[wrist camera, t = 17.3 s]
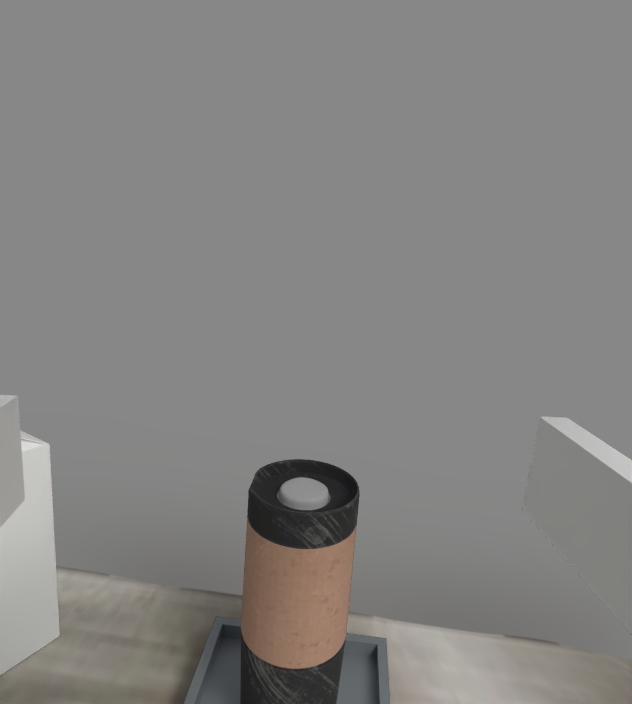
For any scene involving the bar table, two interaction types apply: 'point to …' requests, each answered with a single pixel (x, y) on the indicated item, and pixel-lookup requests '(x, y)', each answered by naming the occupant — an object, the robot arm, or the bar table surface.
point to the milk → (29, 563)
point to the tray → (225, 668)
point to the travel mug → (297, 582)
